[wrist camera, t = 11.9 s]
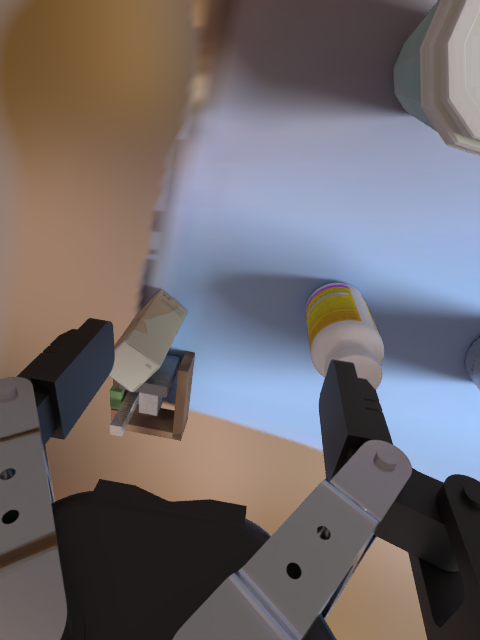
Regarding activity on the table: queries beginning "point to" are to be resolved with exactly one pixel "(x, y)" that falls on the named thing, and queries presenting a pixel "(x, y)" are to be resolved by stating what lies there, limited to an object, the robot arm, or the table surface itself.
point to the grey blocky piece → (146, 395)
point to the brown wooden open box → (166, 420)
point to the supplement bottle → (344, 331)
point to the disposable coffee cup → (444, 73)
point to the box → (147, 341)
